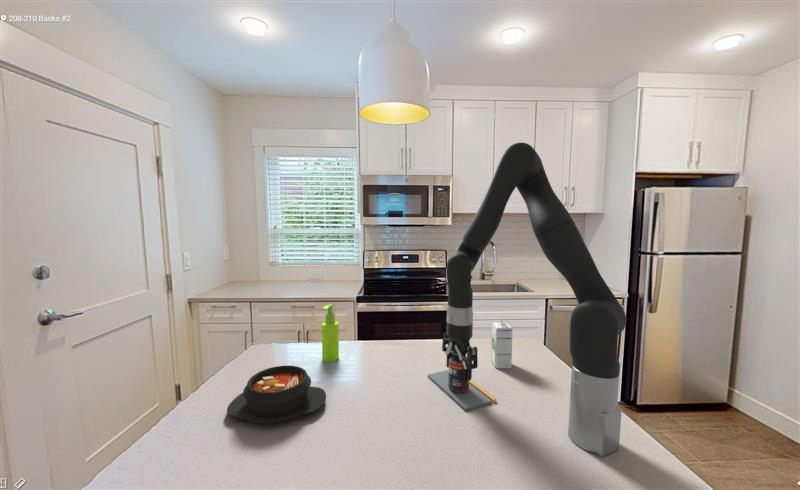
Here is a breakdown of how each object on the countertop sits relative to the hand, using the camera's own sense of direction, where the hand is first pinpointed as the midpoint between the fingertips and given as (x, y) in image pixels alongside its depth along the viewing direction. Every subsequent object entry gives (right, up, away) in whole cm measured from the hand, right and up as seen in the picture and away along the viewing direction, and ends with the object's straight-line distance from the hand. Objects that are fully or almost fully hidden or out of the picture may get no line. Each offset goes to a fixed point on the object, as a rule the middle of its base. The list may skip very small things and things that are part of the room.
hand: (458, 373), depth 93 cm
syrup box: (+18, -4, +18) cm, 26 cm away
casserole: (-50, -6, -8) cm, 51 cm away
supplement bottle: (0, -5, 0) cm, 5 cm away
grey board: (+1, -5, +2) cm, 6 cm away
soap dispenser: (-43, -4, +21) cm, 48 cm away
